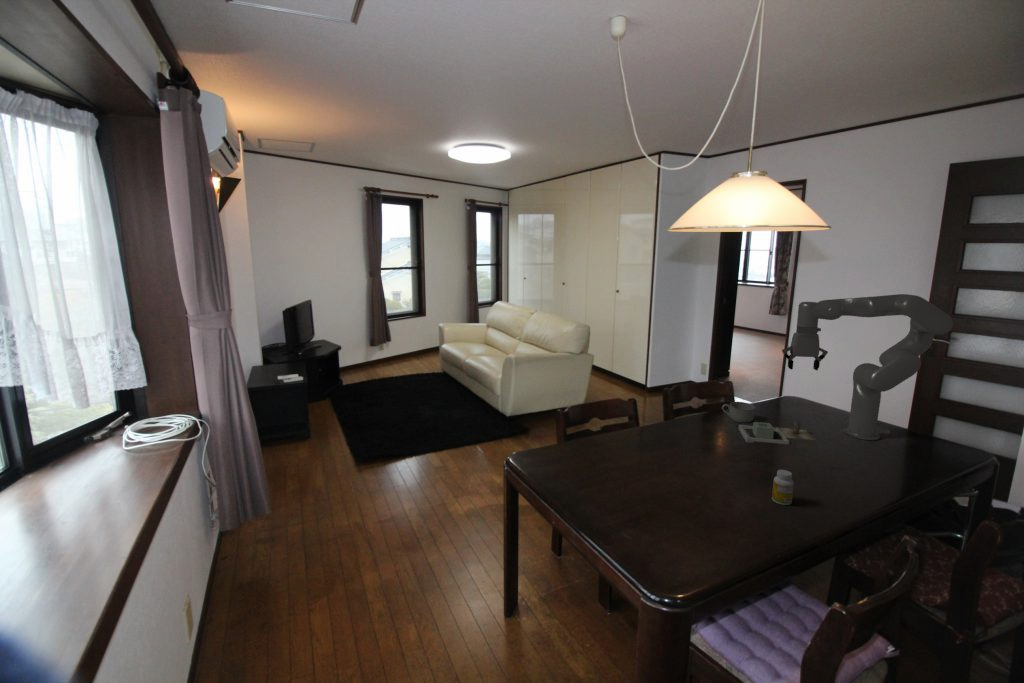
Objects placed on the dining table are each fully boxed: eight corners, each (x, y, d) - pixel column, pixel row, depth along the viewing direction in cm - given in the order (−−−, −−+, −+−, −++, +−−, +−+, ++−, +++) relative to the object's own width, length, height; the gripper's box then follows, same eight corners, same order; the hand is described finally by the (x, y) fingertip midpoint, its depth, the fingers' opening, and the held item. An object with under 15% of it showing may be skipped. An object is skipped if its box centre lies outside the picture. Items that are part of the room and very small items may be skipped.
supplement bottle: (773, 494, 146) (776, 466, 144) (792, 500, 143) (796, 471, 141) (770, 501, 142) (773, 472, 140) (789, 507, 139) (793, 478, 137)
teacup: (754, 420, 215) (756, 403, 213) (752, 427, 206) (754, 410, 204) (722, 414, 222) (724, 399, 221) (719, 421, 213) (720, 405, 212)
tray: (777, 432, 199) (777, 427, 198) (788, 446, 184) (789, 441, 184) (738, 429, 203) (739, 424, 202) (746, 442, 188) (747, 437, 188)
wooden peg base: (806, 432, 200) (808, 418, 198) (816, 442, 188) (818, 427, 187) (776, 429, 203) (777, 415, 202) (784, 439, 191) (786, 424, 190)
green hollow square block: (768, 434, 196) (769, 423, 195) (772, 439, 189) (774, 428, 189) (752, 432, 197) (753, 421, 196) (756, 438, 191) (757, 427, 190)
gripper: (825, 329, 196) (822, 368, 199) (781, 329, 200) (778, 366, 203) (833, 332, 189) (829, 372, 191) (787, 331, 193) (783, 370, 196)
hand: (802, 369), depth 197 cm, fingers open, 9 cm apart
